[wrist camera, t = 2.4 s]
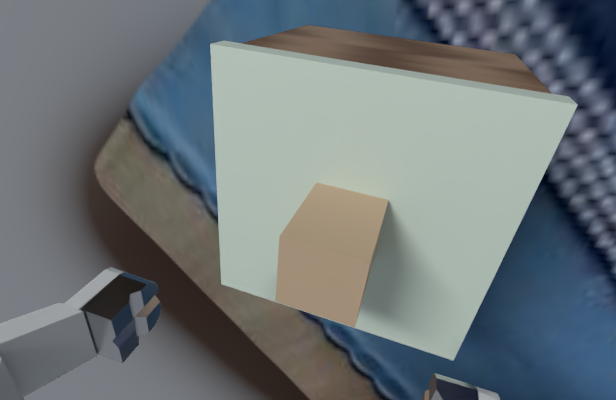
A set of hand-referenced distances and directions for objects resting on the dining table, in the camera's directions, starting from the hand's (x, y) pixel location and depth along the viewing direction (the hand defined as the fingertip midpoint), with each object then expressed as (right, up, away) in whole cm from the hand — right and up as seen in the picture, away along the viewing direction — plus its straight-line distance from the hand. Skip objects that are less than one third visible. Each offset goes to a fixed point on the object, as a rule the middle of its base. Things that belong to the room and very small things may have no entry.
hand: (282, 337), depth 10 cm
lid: (+3, +3, +6) cm, 8 cm away
